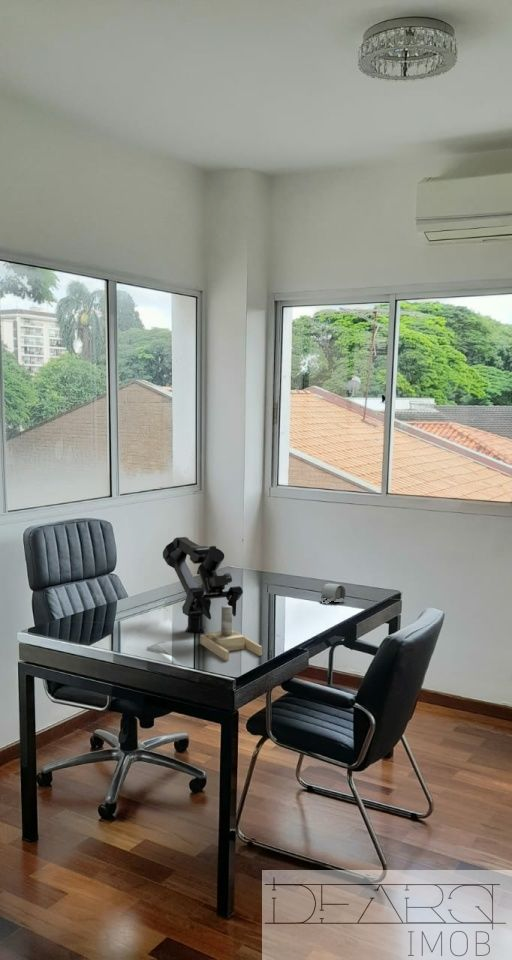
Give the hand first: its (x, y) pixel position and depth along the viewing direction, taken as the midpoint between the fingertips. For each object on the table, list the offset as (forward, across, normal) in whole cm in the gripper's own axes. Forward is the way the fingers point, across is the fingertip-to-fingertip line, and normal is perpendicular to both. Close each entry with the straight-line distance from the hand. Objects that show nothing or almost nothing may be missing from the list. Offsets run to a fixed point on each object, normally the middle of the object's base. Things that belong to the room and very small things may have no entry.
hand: (222, 617), depth 262 cm
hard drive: (+5, -17, +11) cm, 21 cm away
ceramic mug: (-18, +69, +34) cm, 79 cm away
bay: (+12, 0, +3) cm, 12 cm away
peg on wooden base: (+9, 0, +4) cm, 10 cm away
